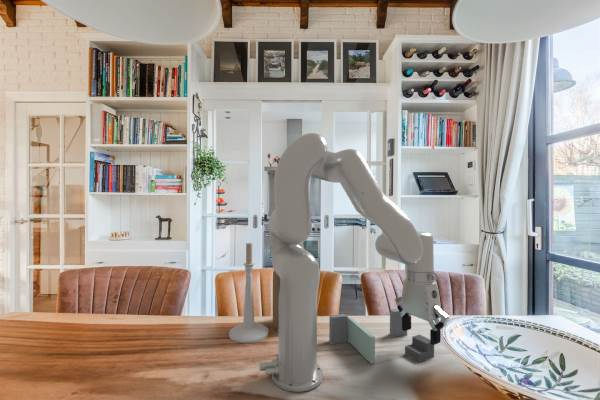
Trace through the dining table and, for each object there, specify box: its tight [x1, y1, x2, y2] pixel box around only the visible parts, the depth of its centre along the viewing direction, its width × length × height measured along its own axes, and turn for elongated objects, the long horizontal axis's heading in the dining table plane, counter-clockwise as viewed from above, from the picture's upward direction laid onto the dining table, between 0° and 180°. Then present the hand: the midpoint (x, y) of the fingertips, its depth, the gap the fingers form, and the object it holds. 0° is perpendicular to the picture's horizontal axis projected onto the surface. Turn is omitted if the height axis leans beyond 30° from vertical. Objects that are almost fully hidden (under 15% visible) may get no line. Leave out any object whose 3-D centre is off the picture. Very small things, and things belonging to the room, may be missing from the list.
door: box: [346, 315, 376, 365], centre depth 87 cm, size 15×1×7 cm, turn 17°
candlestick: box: [228, 242, 269, 344], centre depth 98 cm, size 13×13×30 cm
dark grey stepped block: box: [404, 334, 435, 363], centre depth 85 cm, size 6×5×4 cm
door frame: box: [328, 308, 408, 345], centre depth 96 cm, size 26×2×8 cm, turn 104°
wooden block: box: [272, 269, 280, 330], centre depth 106 cm, size 10×10×20 cm
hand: (420, 336), depth 85 cm, fingers open, 9 cm apart
